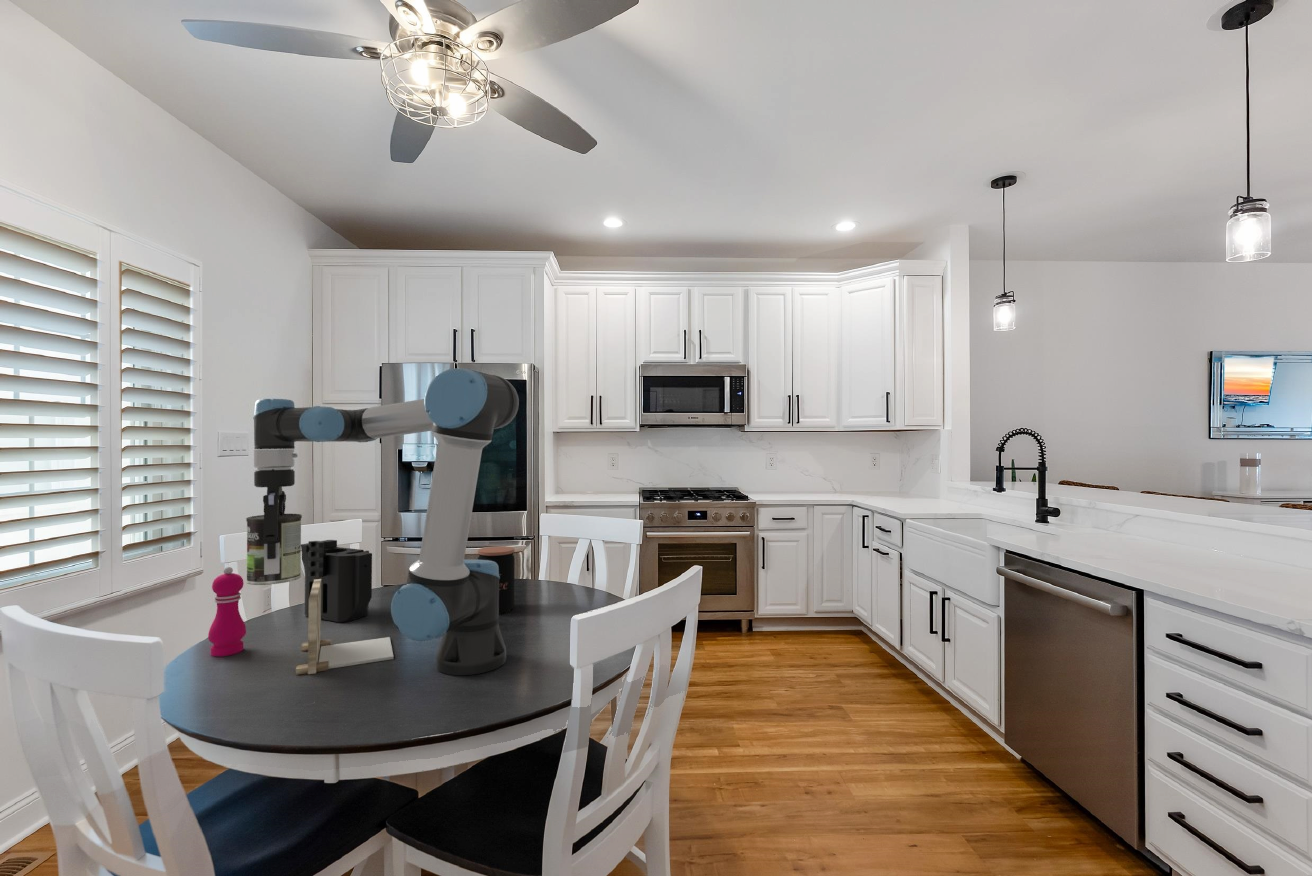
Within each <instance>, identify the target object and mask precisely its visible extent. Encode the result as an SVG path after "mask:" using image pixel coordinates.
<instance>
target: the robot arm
mask: <svg viewBox="0 0 1312 876" xmlns="http://www.w3.org/2000/svg"><path fill="white" fill-rule="evenodd" d="M519 402H520V399H519V395H518V393H517V390H516V388H515V387H514V386H513V385H512V384H511V382H510V381H509V380H507V379H506V378H504V377H501V376H499V375H496V374H490V373H486V372H481V371H478V370H474V369H470V368H450V369H446V370H444V371H441V373H438V374H437V375H436V376H435V377H434V378H433V379H432V380H431V382H429V384H428V386H427V388H426V391H425V394H424V398H421V399H414V400H408V401H402V402H397V403H390V404H384V405H377V406H373V407H366V408H361V409H341V408H340V409H339V408H334V407H332V406H319V405H316V406H308V407H304V406H303V407H295V402H294V401H293V400H291V399H287V398H260V399H257V400H256V401H255V404H254V414H253V418H252V419H253V433H254V435H253V436H254V437H253V440H254V442H253V444H254V445H253V446H254V449H253V468H255V469H256V468H257V469H256V470H254V472H253V473H254V474H253V475H254V476H253V477H254V479H253V480H254V481H253V482H254V483H253V485H254V486H255V487H256V488H266V494H264V495H263V496H262V501H263V515H264V531H263V540H260V544H264V575H268V574H279V573H280V542H279V523H278V518H280V515H283V514H286V500H287V494H286V493H285V491H284V490H283V488H284V487H292V486H294V485H295V482H296V481H295V477H296V476H295V475H296V474H295V473H296V472H295V470H294V469H292V468H293V467H295V459H296V458H298V456H299V454H298V453H296V452H295V448H296V446H295V443H297V442H311V443H312V442H315V443H320V442H321V443H326V442H329V443H330V442H333V443H334V442H335V443H336V442H340V443H341V442H352V443H353V442H355V443H368V442H374V441H376V440H378V439H383V438H389V437H390V438H391V437H397V436H404V435H411V434H417V433H426V432H431V434H432V436H433V437H434V438H435V439H436V441H437V446H436V447H437V448H436V454H435V459H434V464H433V465H434V466H433V471H432V476H431V483H430V490H429V495H428V501H427V509H426V515H425V521H424V527H423V534H422V539H421V546H420V552H419V558H418V559H417V560H416V561H414V562H413V563H412V564H410V566H409V568H408V575H407V580H406V584H403V585H402V586H401V587H400V588H399V589H398V590H397V591H396V592H395V593H394V594H393V596H392V600H391V603H390V613H391V614H390V615H391V618H392V621H393V624H394V625H395V626H397V628H398V631H400V633H401V634H402V635H404V636H405V637H406V638H408V639H410V640H412V641H416V642H428V641H430V640H433V639H438V638H441V637H442V638H441V641H440V644H439V646H438V649H437V652H436V656H435V668H436V670H437V671H438V672H440V673H443V674H446V675H451V676H469V675H470V676H471V675H472V676H473V675H479V674H484V673H487V672H490V671H493V670H496V669H498V668H500V667H501V666H503V665H504V664H505V663H506V662H507V647H506V645H505V641H504V638H503V636H502V633H501V629H500V625H499V621H500V619H499V618H500V617H499V616H500V614H499V579H500V576H499V567H498V564H497V563H496V562H494V561H489V560H478V559H473V558H472V559H471V558H469V559H465V556H466V555H465V554H466V549H467V545H468V539H469V538H468V537H469V531H470V527H471V521H472V520H471V519H472V514H473V508H474V502H475V496H476V490H477V489H476V488H477V482H478V478H479V471H480V466H481V459H482V452H483V449H484V448H485V447H486V446H488V445H489V444H490V443H491V442H492V439H493V436H494V435H493V434H494V430H496V429H500V428H503V427H505V426H508V424H510V423H511V422H512V421H513V420H514V418H515V417H516V415H517V413H518V410H519V404H520V403H519ZM294 452H295V453H294ZM278 542H279V543H278Z"/></svg>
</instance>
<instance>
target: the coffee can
mask: <svg viewBox="0 0 1312 876" xmlns="http://www.w3.org/2000/svg"><path fill="white" fill-rule="evenodd" d="M302 518H303V515H302V514H300V513H285V514H283V515H280V518H278V523H279V542H280V573H279V574H268V575H264V544H260V540H263V531H264V514H259V515H252V516H249V517H246V518H245V519H246V581H245V582H246V584H248V585H253V586H266V585H276V584H277V585H278V584H284V583H285V584H286V583H290V582H293V581H297V580H299V579H300V578H302V572H301V571H302V551H301V544H302ZM279 542H278V543H279Z"/></svg>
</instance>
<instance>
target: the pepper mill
mask: <svg viewBox="0 0 1312 876" xmlns="http://www.w3.org/2000/svg"><path fill="white" fill-rule="evenodd" d="M233 571H234V570H233V568H232V567H231V566H227V567H225V568H224V569H223V574H220V575H217V577H216V578H214V579H213V582H212V585H211V589H212V592H213V593H215V595H214V603H216V614H215V617H214V619H213V621H212V624H211V625H210V627H209V630H208V634H207V638H208V641H209V642H211V644H213V645H212V646H210V656H212V657H218V658H219V657H220V658H221V657H227V656H228V657H229V656H233V655H235V654H239V653H241V652H242V651H244V641H243V640H242V639H243V638H244V637H245V636H246V634H247V625H246V623H245V622H244V620H243V618H242V616H241V614H240V609H239V600H241V599H242V597H241V595H242V593H241V592H240V591H241V590H243V589H242V588H244V579H243V577H242V576H241V575H240V574H237V573H233Z"/></svg>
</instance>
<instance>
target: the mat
mask: <svg viewBox="0 0 1312 876" xmlns="http://www.w3.org/2000/svg"><path fill="white" fill-rule="evenodd" d="M389 660H394V653H393V647H392V643H391V637H390V636H386V637H378V638H374V639H373V638H372V639H364V640H358V641H351V642H341V643H336V644H334V643H333V644H331V645H327V646H321V649H320V651H319V657H318V662H324V661H329V665H328V670H330V669H337V668H342V667H343V668H344V667H349V666H356V665H357V666H358V665H363V664H369V663H374V662H375V663H376V662H381V661H382V662H383V661H389Z"/></svg>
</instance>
